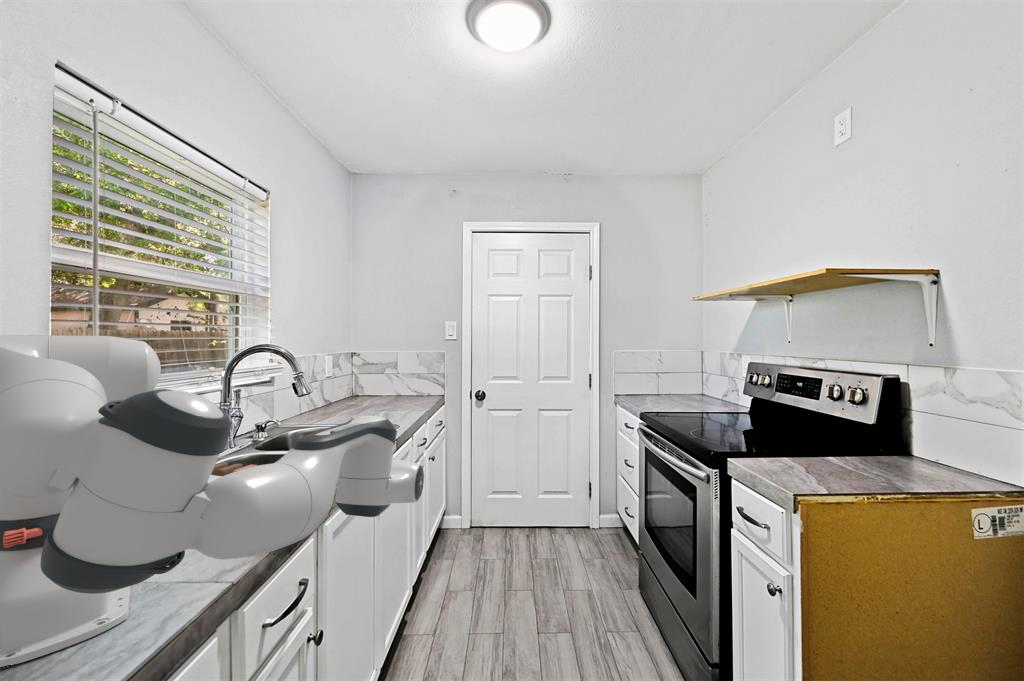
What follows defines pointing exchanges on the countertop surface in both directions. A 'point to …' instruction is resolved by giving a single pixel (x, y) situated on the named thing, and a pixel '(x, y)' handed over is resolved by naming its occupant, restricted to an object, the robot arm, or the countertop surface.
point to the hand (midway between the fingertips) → (294, 473)
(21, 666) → the countertop surface
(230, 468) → the tile
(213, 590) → the countertop surface
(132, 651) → the countertop surface
